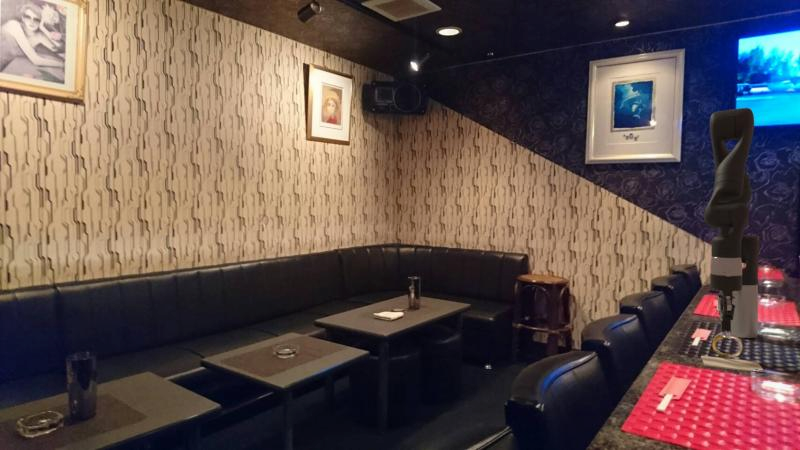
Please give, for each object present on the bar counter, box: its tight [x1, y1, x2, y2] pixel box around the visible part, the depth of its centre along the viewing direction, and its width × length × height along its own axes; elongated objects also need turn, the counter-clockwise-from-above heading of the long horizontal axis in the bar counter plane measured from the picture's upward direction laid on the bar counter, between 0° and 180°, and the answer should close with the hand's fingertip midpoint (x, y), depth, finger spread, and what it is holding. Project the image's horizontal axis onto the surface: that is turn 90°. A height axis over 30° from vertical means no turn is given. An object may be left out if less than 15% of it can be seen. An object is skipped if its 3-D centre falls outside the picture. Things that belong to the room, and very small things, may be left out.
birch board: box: [700, 355, 764, 373], centre depth 130 cm, size 9×13×1 cm
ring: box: [712, 330, 743, 359], centre depth 135 cm, size 7×3×8 cm, turn 54°
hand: (725, 333), depth 138 cm, fingers closed
